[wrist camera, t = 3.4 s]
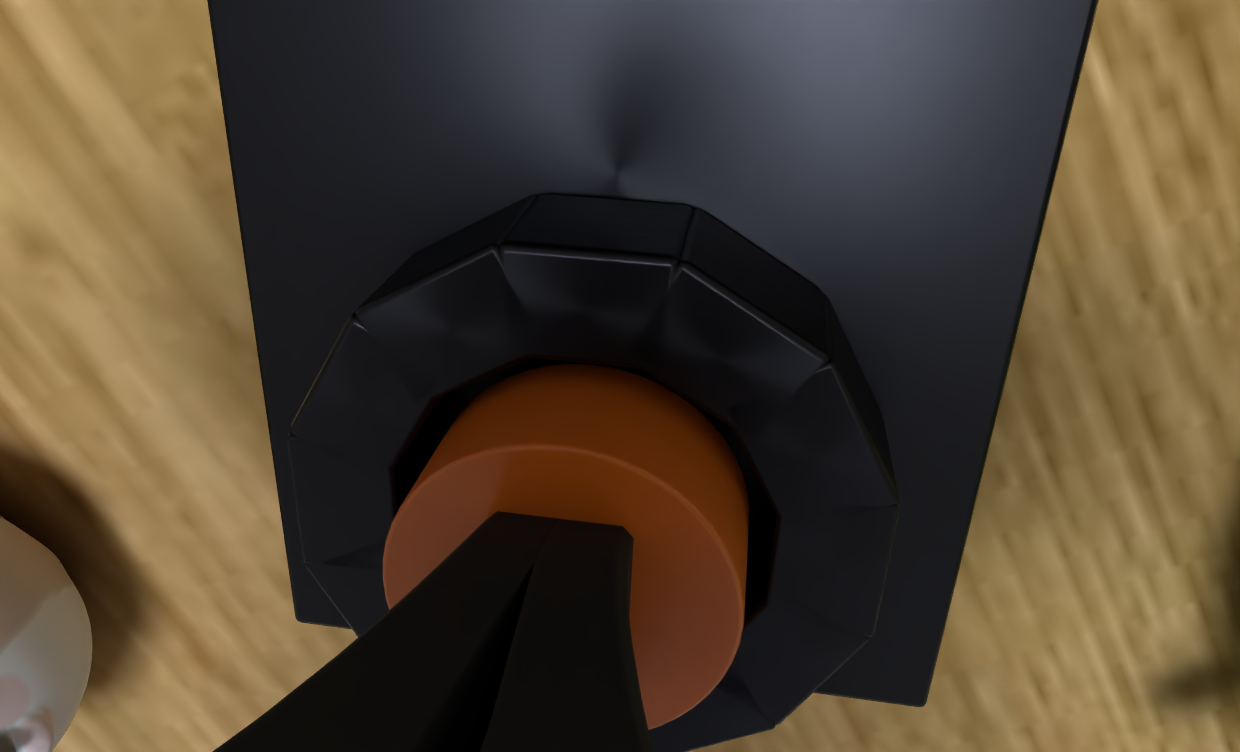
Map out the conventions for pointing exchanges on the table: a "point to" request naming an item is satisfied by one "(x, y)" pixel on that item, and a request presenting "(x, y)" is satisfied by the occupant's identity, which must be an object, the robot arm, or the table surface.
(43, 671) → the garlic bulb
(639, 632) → the button
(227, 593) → the table surface
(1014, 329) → the switch block
